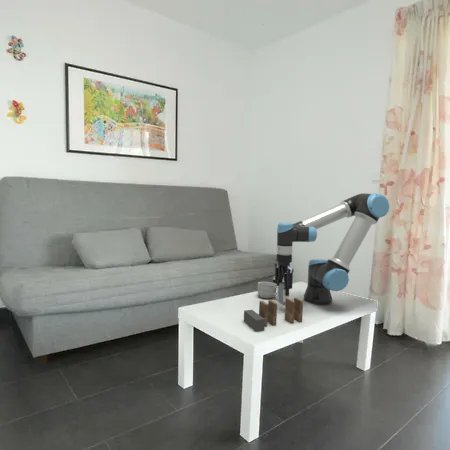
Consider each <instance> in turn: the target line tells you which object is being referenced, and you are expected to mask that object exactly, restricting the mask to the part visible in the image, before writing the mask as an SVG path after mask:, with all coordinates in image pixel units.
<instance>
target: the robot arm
mask: <svg viewBox="0 0 450 450" xmlns="http://www.w3.org/2000/svg"><path fill="white" fill-rule="evenodd" d="M389 211H390V203H389V199H388V198H387V197H386V196H385V195H384V194H382V193H377V192H374V193H366V192H365V193H358V194H356V195H355V194H354V196H351V197H349V198H346V199H343V200H342V201H341V202H340V203H339V204H337V205H334V206H333V207H330V208H328V209H325V210H323V211H321V212H318V213H316V214H313V215H311V216H310V217H307V218H305V219H302V220H300V221H297V222H295V223H293V222H288V221H287V222H286V221H284V222H283V221H282V222H279V223H278V224H277V231H276V235H277V236H276V239H277V240H276V258H275V259H276V262H277V263H275V264H274V267H275V268H274V283H275V284H277V288H276V293H277V295H276V298H277V300H279V283H284V287H285V288H283V302H286V298H289V299H290V290H291V289H293V278H294V268H291V263H292V262H293V255H292V254H293V243H304V242H305V243H313V242H315V241H316V240H317V237H318V231H317V230H318V229H321V228H323V227H325V226H326V227H327V225H330V224H332V223H334V222H337V221H340V220H342V219H344V218H352V217H354V216H355V217H354V220H353V221H352V223H351V225H350V226H349V228H348V230H347V232H346V233H345V236H344V237H343V239H342V241H341V242H340V245H339V246H338V248H337V250H336V251H335V253H334V255H333V257H331V258H328V259H316V258H315V259H310V260H309V262H308V266H307V267H308V271H307V286H306V289H305V291H304V294H303V302H305V303H309V304H312V305H319V306H325V305H326V306H327V305H332V303H333V297H332V294H331V291H332V292H339V291H342V290H344V289H345V288H346V287H348V284H349V282H350V279H349V274H350V271H351V270H350V264H351V263H352V261H353V259H354V257H355V255H356V254H357V252H358V250H359V248H360V247H361V244H362V243H363V241H364V240H365V238H366V236H367V234H368V232H369V231H370V229H371V226H372V225H375V224H377V223H378V221H379V219H380V218H383V217H385V216H387V214H388V213H389Z"/></svg>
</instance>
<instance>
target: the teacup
mask: <svg viewBox="0 0 450 450" xmlns="http://www.w3.org/2000/svg"><path fill="white" fill-rule="evenodd" d="M257 295H258V296H259V297H260V298H261V299H268V300H270V299H273V298H274V297H277V284H276V283H275V282H271V281H258V282H257Z"/></svg>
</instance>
